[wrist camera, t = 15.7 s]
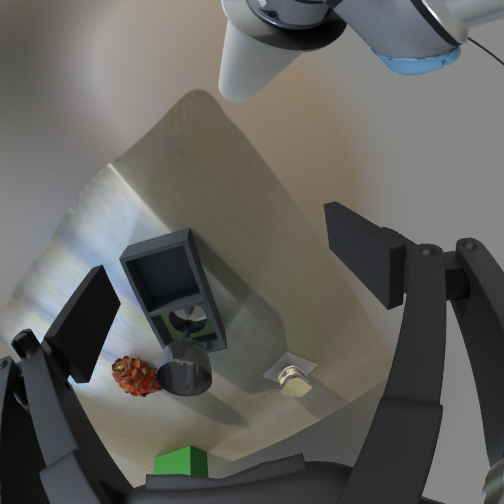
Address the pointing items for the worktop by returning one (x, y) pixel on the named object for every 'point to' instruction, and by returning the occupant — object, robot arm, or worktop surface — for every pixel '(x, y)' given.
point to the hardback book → (182, 462)
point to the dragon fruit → (135, 376)
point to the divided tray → (172, 286)
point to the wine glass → (185, 356)
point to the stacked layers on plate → (291, 374)
